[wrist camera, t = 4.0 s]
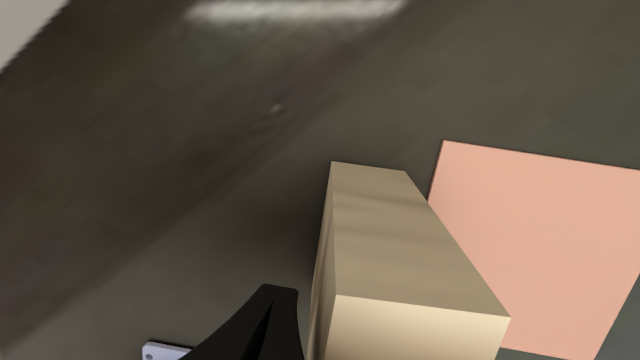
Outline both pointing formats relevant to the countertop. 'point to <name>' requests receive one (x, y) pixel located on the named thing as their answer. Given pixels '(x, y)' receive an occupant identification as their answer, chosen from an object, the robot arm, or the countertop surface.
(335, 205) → the maple block
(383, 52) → the countertop surface
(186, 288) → the countertop surface
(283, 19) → the countertop surface
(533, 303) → the mat
